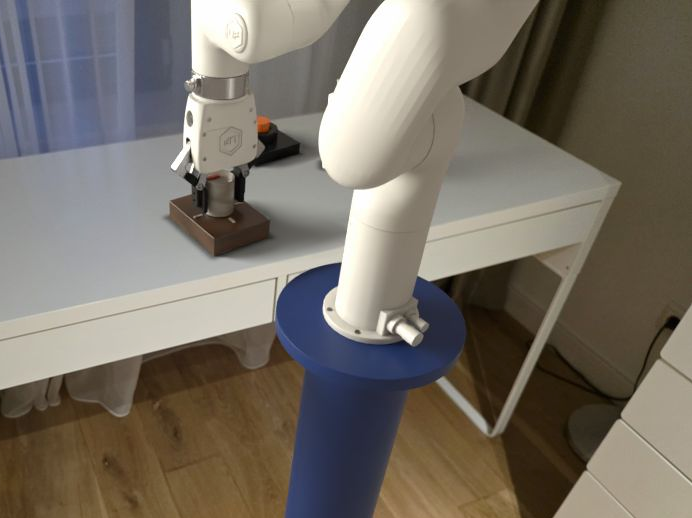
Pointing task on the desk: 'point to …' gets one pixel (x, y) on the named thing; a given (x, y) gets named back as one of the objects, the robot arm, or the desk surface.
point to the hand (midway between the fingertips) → (218, 203)
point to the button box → (276, 146)
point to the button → (263, 124)
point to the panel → (220, 225)
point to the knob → (220, 193)
